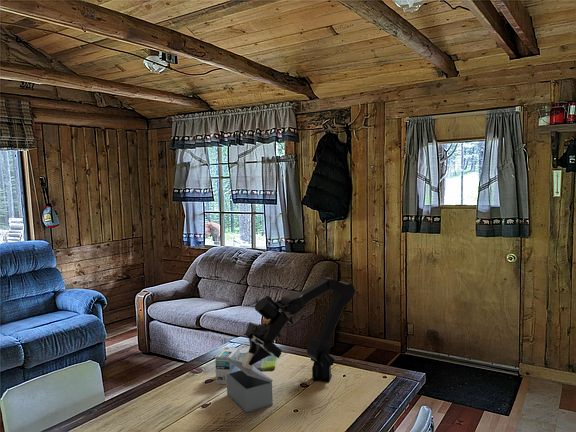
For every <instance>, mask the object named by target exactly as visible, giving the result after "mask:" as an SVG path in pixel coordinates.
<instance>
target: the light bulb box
mask: <svg viewBox="0 0 576 432" xmlns="http://www.w3.org/2000/svg"><path fill="white" fill-rule="evenodd" d="M240 353H241V352H240V347H227V346H223V347H222V349H221V350H220V351H219V352H218V353H217V354H216V355H215V356H214V357H215V359H214V360H215V378H216V380H215V382H216V384H217V385H218V384H219V385H220V384H221V385H227V376H226V374H227V373H231V372H234V371H238V370H240V369H239V368H238V367H236V366H235V365H234V364H233V363H231V362H230V361H229V360H228V359H229V358H231V359H235V360H238V361H240Z"/></svg>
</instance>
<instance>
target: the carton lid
mask: <svg viewBox="0 0 576 432" xmlns="http://www.w3.org/2000/svg"><path fill="white" fill-rule="evenodd" d="M246 353H247V354H246V356H245V359H244V361H243V362H241V361H238V360H235V359H231V358H229V359H228V360H229V361H230V362H231V363H233V364H234V365H235V366H236V367H238V368H239V369H240V370H241V371H243V372H244V373H245V374H246V375H248V376H251V377H254V378H258V379H261V380H265V381H268V382H271V383H272V384H273V381H274V380H273V379H271V378H270V377H269V376H267V375H266V374H265V373H263V372H262V371H259V370H258V369H257V368H255V367H254V366H253V365H254V364H253V365H249V362H250V360H251V358H252V357H253V355H254V354H253V353H250V352H248V351H246Z"/></svg>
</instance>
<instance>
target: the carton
mask: <svg viewBox="0 0 576 432" xmlns="http://www.w3.org/2000/svg"><path fill="white" fill-rule="evenodd" d="M226 376H227V384H226V396H227V397H228V398H229V399H231V400H232V401H233V402H234V403H235V404H236V405H237V407H239V408H240V409H241V410H242V411H243V412H244V413H245V414H249V413H253V412H255V411H256V412H257V411H258V410H262V409H265V408H268V407H272V406H273V402H274V401H273V399H274V398H273V382H272V383H271V382H268V381H265V380H261V379H258V378H254V377H251V376H248V375H246V374H245V373H244V372H243V371H241V370H238V371H234V372H231V373H227V374H226Z"/></svg>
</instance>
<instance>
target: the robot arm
mask: <svg viewBox="0 0 576 432" xmlns="http://www.w3.org/2000/svg"><path fill="white" fill-rule="evenodd" d="M329 290H331V291H332V293H331V296H332V297H331V298H332V299H331V300H332V301H331V304H330V307H329V309H328V311H327V314H326V316H325V318H324V320H323V323H322V325H321V327H320V329H319V333H318V334H317V336H316V337H315V338H313V337H310V339H309V342H308V344H307V346H306V348H307V349H306V354H307V356H308V358H310V361H311V362H313V365H312V368H311V369H312V371H311V375H312V381H314V382H326V383H330V381H331V379H332V377H333V374H332V366H334V364H335V359H334V358H333V356H331V355H330V351H331V339H332V336H333V334H334V331H335V330H336V326H337V325H338V322H339V320H340V318H341V314H342V312H343V310H344V307H346V305H348V304H349V303H350V302H351V301H352V299H353V297H354V296H355V293H356V289H355V287H354V285H353V284H352V283H348V282H346V281H341V280H340V281H338V280H335V279H334V278H331V277H327V276H325V277H323V278H322V279H321V280H319V281H317V282H315V283H313V284H311V285H310V286H308V287H307V288H305V289H303V290H301V291H299V292H297V293H291V294H288V295H284V296H283V297H282V298H280V299H279V300H276V301H275V300H274V299H273V298H272V297H271V296H270V295H266V296H265V297H263V298H261V299H259V300H258V301H257V302H256V304H255V305H254V310H255V311H256V312H257V313H258V314H259V315H261V317H263V318H264V319H265V320H267V322H265V323H262V324H261V323H259V324H257V323H253V322H248V325H247V327H246V331H245V333H244V336H245V337H246V338H247V339H248V342H249V350H248V351H247V352H250V353H253V354H254V355H253V357H252V358H251V360H250V362H249V365H253V364H255V363H256V362H258V361H260V360H262V359H264V358H266V357H268V356H271V354H270V353H273V354H274V356H276V357H277V359H279V358H280V357H281V356H282V349H281V348H279V347H278V346H277V345H276V344H275V343H274V342H275V340H276V339H277V338H280V337H281V336H282V334H280V333H281V332H282V331H283V330H284V328H285V327H286V325H287V324H288V323H289V324H290V325H293V324H294V319H293V316H294V315H297V314H299V312H301V311H302V310H303V309H304V308H305V306H306V304H308V303H309V302H311V301H312V300H314V299H317V297H320V296H321V295H323V294H324V293H326V292H327V291H329ZM279 310H280V311H279ZM287 313H288V314H289V315H288V314H287ZM292 315H293V316H292Z"/></svg>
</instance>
